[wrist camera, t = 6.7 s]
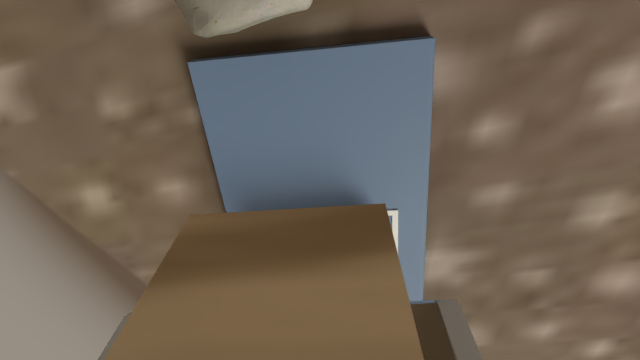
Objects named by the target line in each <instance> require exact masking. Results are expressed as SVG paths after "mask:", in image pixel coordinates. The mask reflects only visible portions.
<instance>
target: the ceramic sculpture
mask: <svg viewBox="0 0 640 360" xmlns="http://www.w3.org/2000/svg"><path fill="white" fill-rule="evenodd" d="M175 1H176V3H177V4H178V6H179V7H180V9H181V11H182V12H183V15H184V17H185V19H186V22H187V25H188V27H189V29H190V30H191V31H192V32H193V33H194V34H195V35H198V36H202V37H206V38H208V37H212V36H216V35H222V34H230V33H235V32H239V31H241V30H243V29H246V28H248V27H251V26H253V25H256V24H259V23H262V22H264V21H267V20H270V19H273V18H275V17H279V16H283V15H286V14H290V13H293V12H298V11H304V10H307V9H308V8H309V7H310V6H311V4H312V1H313V0H175Z"/></svg>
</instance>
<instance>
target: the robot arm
mask: <svg viewBox="0 0 640 360" xmlns="http://www.w3.org/2000/svg"><path fill="white" fill-rule="evenodd" d="M410 305H411V309H412V313H413V317H414V321H415V325H416V330H417V334H418V338H419V342H420V346H421V350H422V354H423V358H424V360H483V359H482V357H481V355H480V352H479V350H478V347H477V345H476V342H475V340H474V337H473V335H472V332H471V330H470V327H469V325H468V323H467V320H466V318H465V315H464V313H463V310H462V308H461V305H460V303H459V302H458V301H457V300H456V299H448V300H435V301H434V300H423V301H410ZM131 313H132V312H130V313H129V314H127V315H126V316H125V317H124V318H123V319H122V321H121V323H120V324H119V326H118V328H117V329H116V331H115V333H114V334H113V336H112V337H111V339H110V341H109V342H108V344H107V345H106V347H105V349H104V350H103V352H102V354H101V355H100V357H99V358H98V360H104V359H105V357H106V355H107V353H108V352H109V350H110V348H111V347H112V345H113V343H114V342H115V340H116V338H117V337H118V335H119V333H120V332H121V330H122V328H123V327H124V325H125V323H126V322H127V320H128V318H129V317H130V315H131Z"/></svg>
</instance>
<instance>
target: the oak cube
mask: <svg viewBox="0 0 640 360" xmlns="http://www.w3.org/2000/svg"><path fill="white" fill-rule="evenodd" d="M104 360H424V358H423V354H422V350H421V346H420V342H419V338H418V334H417V330H416V325H415V321H414V317H413V313H412V309H411V305H410V301H409V297H408V293H407V289H406V285H405V281H404V277H403V273H402V269H401V265H400V261H399V257H398V253H397V249H396V245H395V241H394V237H393V233H392V228H391V224H390V220H389V216H388V212H387V208H386V204H385V203H382V204H365V205H348V206H331V207H314V208H297V209H280V210H263V211H246V212H229V213H212V214H195V215H190V216H189V217H188V219H187V221H186V222H185V224H184V226H183V227H182V229H181V231H180V233H179V234H178V236H177V238H176V239H175V241H174V243H173V244H172V246H171V248H170V249H169V251H168V253H167V254H166V256H165V258H164V259H163V261H162V263H161V264H160V266H159V268H158V269H157V271H156V273H155V275H154V276H153V278H152V280H151V281H150V283H149V285H148V286H147V288H146V290H145V292H144V293H143V295H142V296H141V298H140V300H139V301H138V303H137V305H136V306H135V308H134V310H133V312H132V313H131V315H130V317H129V318H128V320H127V322H126V323H125V325H124V327H123V328H122V330H121V332H120V333H119V335H118V337H117V338H116V340H115V342H114V343H113V345H112V347H111V348H110V350H109V352H108V353H107V355H106V357H105V359H104Z"/></svg>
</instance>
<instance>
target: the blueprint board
mask: <svg viewBox="0 0 640 360" xmlns="http://www.w3.org/2000/svg"><path fill="white" fill-rule="evenodd" d="M434 54H435V38H434V37H432V36H424V37H414V38H404V39H394V40H384V41H374V42H364V43H354V44H344V45H334V46H323V47H313V48H303V49H293V50H283V51H273V52H263V53H253V54H243V55H233V56H223V57H213V58H203V59H193V60H191V61H189V62H187V63H188V67H189V71H190V74H191V78H192V82H193V86H194V90H195V94H196V98H197V101H198V105H199V109H200V113H201V117H202V121H203V125H204V129H205V132H206V136H207V140H208V144H209V148H210V152H211V156H212V159H213V163H214V167H215V171H216V175H217V179H218V183H219V186H220V190H221V194H222V198H223V202H224V206H225V210H226V213H229V212H246V211H263V210H280V209H297V208H314V207H331V206H348V205H365V204H382V203H385V204H386V208H387V212H388V216H389V220H390V224H391V228H392V233H393V237H394V241H395V245H396V249H397V253H398V257H399V261H400V265H401V269H402V273H403V277H404V281H405V285H406V289H407V293H408V297H409V301H423V285H424V264H425V243H426V222H427V201H428V180H429V159H430V138H431V117H432V96H433V75H434Z"/></svg>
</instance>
